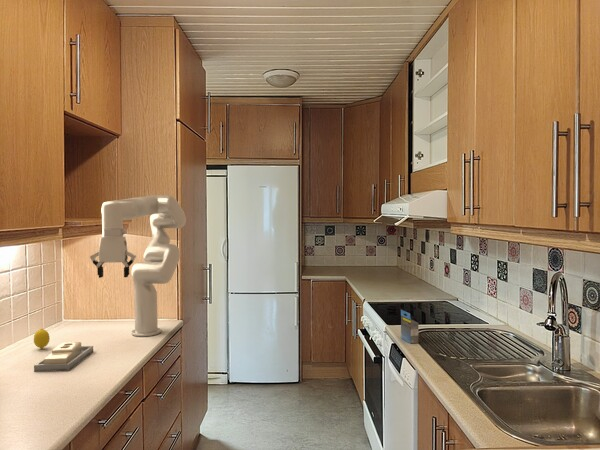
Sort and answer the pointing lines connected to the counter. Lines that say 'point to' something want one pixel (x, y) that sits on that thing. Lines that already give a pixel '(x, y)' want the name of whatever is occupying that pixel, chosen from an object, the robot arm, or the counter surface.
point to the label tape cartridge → (408, 328)
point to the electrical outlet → (64, 353)
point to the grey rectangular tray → (64, 367)
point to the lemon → (41, 338)
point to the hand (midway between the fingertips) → (113, 277)
